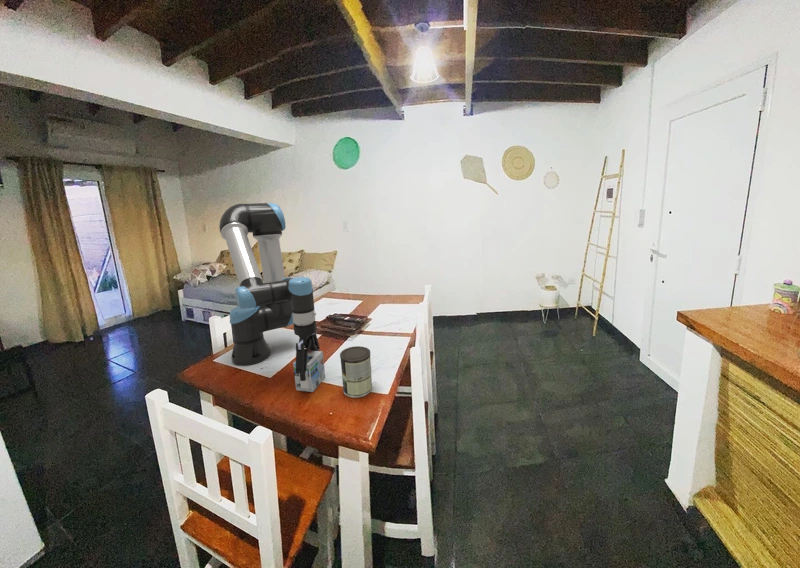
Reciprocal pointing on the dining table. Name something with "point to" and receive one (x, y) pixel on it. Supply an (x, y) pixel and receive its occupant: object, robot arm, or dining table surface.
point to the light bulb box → (312, 371)
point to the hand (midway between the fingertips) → (310, 378)
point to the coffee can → (356, 371)
